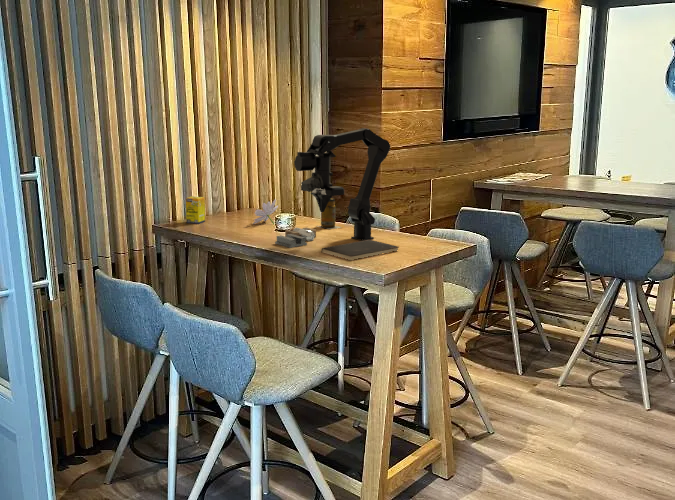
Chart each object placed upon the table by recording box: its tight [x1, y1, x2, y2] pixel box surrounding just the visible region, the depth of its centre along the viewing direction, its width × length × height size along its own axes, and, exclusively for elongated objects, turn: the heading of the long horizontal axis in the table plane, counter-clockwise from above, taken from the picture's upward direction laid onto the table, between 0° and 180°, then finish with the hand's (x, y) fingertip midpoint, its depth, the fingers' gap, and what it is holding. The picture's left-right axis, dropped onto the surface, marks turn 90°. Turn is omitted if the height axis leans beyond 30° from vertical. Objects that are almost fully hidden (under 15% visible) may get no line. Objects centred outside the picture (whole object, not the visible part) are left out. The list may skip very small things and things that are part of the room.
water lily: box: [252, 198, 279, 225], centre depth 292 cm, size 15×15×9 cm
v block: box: [274, 234, 308, 249], centre depth 253 cm, size 9×8×3 cm
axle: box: [292, 227, 316, 242], centre depth 262 cm, size 9×4×4 cm, turn 41°
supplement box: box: [185, 195, 206, 225], centre depth 292 cm, size 6×6×11 cm
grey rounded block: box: [284, 226, 317, 239], centre depth 264 cm, size 6×10×3 cm, turn 131°
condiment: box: [317, 197, 343, 230], centre depth 285 cm, size 7×8×12 cm
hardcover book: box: [320, 239, 400, 261], centre depth 242 cm, size 16×23×2 cm
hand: (322, 211), depth 252 cm, fingers closed
